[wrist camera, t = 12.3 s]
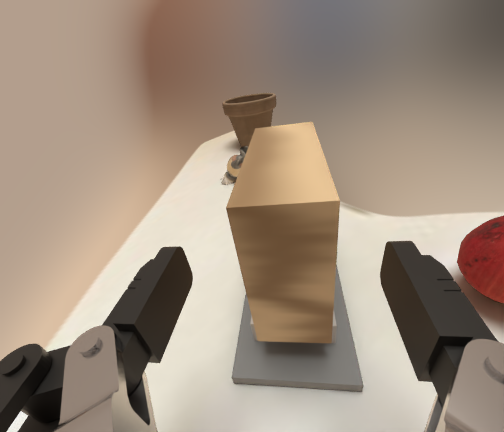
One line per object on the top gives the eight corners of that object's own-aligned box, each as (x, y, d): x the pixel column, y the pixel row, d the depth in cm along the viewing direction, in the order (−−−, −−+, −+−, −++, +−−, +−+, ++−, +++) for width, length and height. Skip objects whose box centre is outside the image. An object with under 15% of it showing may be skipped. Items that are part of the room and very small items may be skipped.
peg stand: (328, 236, 27) (329, 215, 26) (362, 391, 15) (367, 368, 14) (256, 238, 29) (253, 219, 27) (234, 383, 17) (225, 361, 15)
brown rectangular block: (313, 225, 25) (312, 121, 19) (331, 343, 15) (339, 200, 10) (268, 227, 26) (255, 128, 20) (257, 341, 16) (226, 207, 10)
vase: (263, 174, 43) (258, 141, 40) (248, 191, 40) (241, 157, 36) (238, 171, 46) (230, 140, 42) (221, 187, 43) (212, 154, 39)
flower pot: (248, 135, 65) (241, 93, 59) (287, 137, 59) (284, 90, 54) (221, 151, 57) (210, 104, 52) (263, 154, 51) (257, 102, 46)
